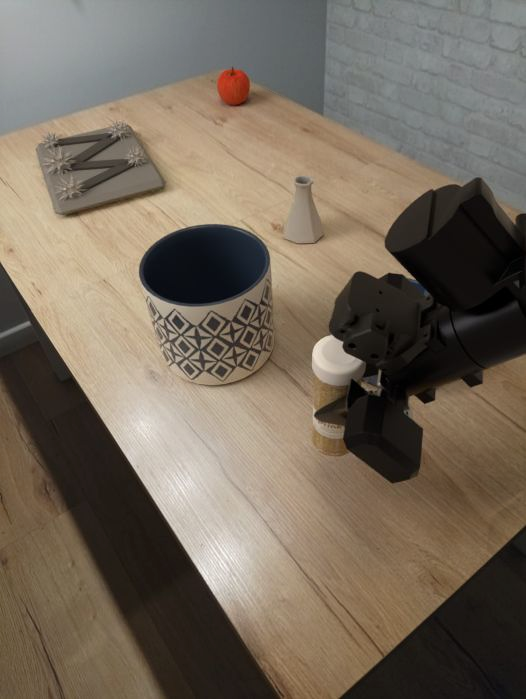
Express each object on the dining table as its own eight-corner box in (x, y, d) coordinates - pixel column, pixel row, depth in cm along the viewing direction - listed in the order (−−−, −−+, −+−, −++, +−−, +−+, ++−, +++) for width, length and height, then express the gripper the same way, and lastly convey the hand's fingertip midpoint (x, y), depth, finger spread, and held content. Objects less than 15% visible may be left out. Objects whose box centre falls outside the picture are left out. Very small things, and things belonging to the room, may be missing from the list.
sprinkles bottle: (315, 461, 51) (317, 375, 42) (308, 423, 55) (307, 335, 45) (361, 455, 52) (373, 368, 42) (351, 418, 55) (360, 329, 45)
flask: (328, 223, 90) (331, 170, 83) (318, 248, 86) (319, 194, 78) (289, 218, 92) (288, 165, 85) (276, 241, 88) (274, 188, 80)
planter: (188, 406, 65) (166, 326, 55) (145, 330, 75) (120, 249, 64) (296, 357, 70) (295, 274, 59) (242, 291, 79) (234, 210, 69)
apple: (231, 93, 131) (228, 59, 125) (257, 99, 128) (255, 64, 122) (212, 104, 127) (207, 70, 121) (238, 111, 124) (234, 75, 118)
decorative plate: (169, 191, 101) (162, 156, 95) (58, 221, 95) (44, 186, 90) (131, 131, 120) (123, 99, 114) (37, 153, 114) (24, 121, 109)
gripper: (413, 190, 41) (284, 281, 52) (389, 363, 29) (227, 435, 40) (493, 278, 45) (357, 346, 56) (500, 462, 33) (326, 504, 44)
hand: (322, 398), depth 49 cm, fingers closed on sprinkles bottle, 4 cm apart
